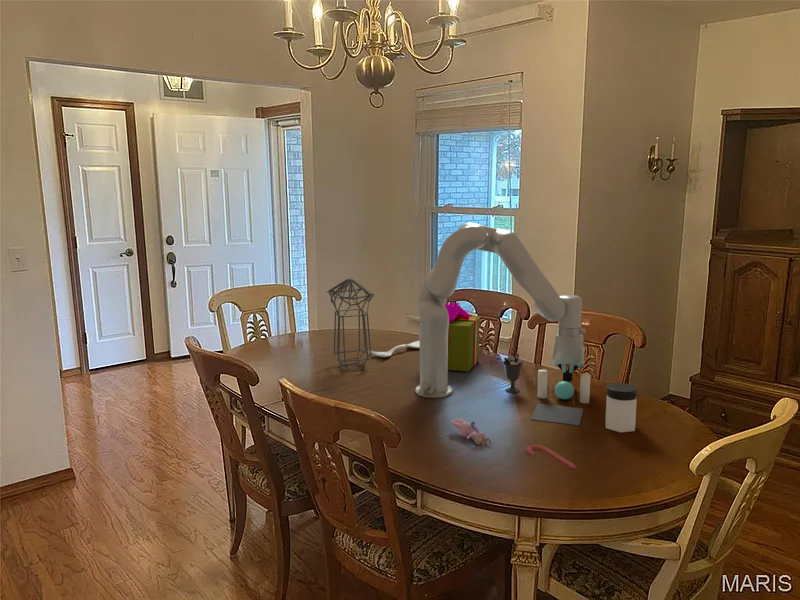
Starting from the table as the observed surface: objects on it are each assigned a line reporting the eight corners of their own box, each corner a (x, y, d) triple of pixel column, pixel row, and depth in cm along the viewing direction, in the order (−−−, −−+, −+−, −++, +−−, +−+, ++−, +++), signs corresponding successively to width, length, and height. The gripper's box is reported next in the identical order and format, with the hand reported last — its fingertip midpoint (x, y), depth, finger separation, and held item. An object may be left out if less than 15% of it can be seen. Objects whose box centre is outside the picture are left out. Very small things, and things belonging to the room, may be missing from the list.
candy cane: (558, 475, 147) (558, 470, 147) (521, 451, 161) (521, 446, 160) (577, 470, 150) (577, 465, 149) (539, 447, 163) (540, 442, 163)
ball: (571, 384, 193) (575, 379, 198) (552, 383, 196) (556, 378, 201) (572, 402, 194) (576, 396, 199) (553, 401, 196) (557, 395, 202)
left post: (545, 399, 198) (546, 372, 196) (536, 398, 199) (537, 371, 197) (547, 396, 201) (547, 370, 199) (538, 395, 202) (538, 369, 200)
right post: (588, 403, 193) (590, 376, 191) (579, 402, 194) (580, 375, 192) (589, 400, 196) (590, 374, 194) (579, 399, 197) (581, 373, 195)
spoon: (367, 358, 249) (367, 350, 249) (421, 343, 271) (421, 336, 271) (382, 362, 243) (381, 354, 242) (436, 347, 265) (436, 339, 264)
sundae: (524, 389, 208) (525, 346, 205) (519, 395, 202) (520, 351, 199) (505, 386, 211) (506, 345, 208) (500, 392, 205) (501, 349, 202)
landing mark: (579, 425, 176) (579, 425, 176) (530, 419, 181) (530, 419, 181) (583, 409, 188) (583, 408, 188) (537, 404, 193) (537, 403, 193)
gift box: (480, 358, 246) (480, 298, 241) (477, 374, 225) (478, 308, 221) (430, 356, 249) (429, 297, 245) (423, 371, 229) (422, 307, 224)
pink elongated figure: (494, 448, 165) (459, 423, 176) (497, 429, 163) (462, 404, 175) (477, 454, 161) (443, 428, 173) (480, 434, 160) (445, 409, 171)
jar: (613, 434, 170) (616, 393, 167) (598, 423, 177) (600, 384, 175) (642, 430, 171) (644, 390, 169) (625, 420, 179) (627, 381, 177)
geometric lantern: (366, 360, 245) (364, 274, 239) (377, 371, 231) (375, 280, 224) (328, 364, 240) (324, 277, 234) (336, 375, 226) (333, 283, 219)
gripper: (593, 330, 206) (590, 382, 210) (548, 327, 212) (546, 377, 215) (591, 335, 199) (589, 388, 203) (545, 332, 205) (543, 384, 208)
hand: (567, 382), depth 209 cm, fingers closed
